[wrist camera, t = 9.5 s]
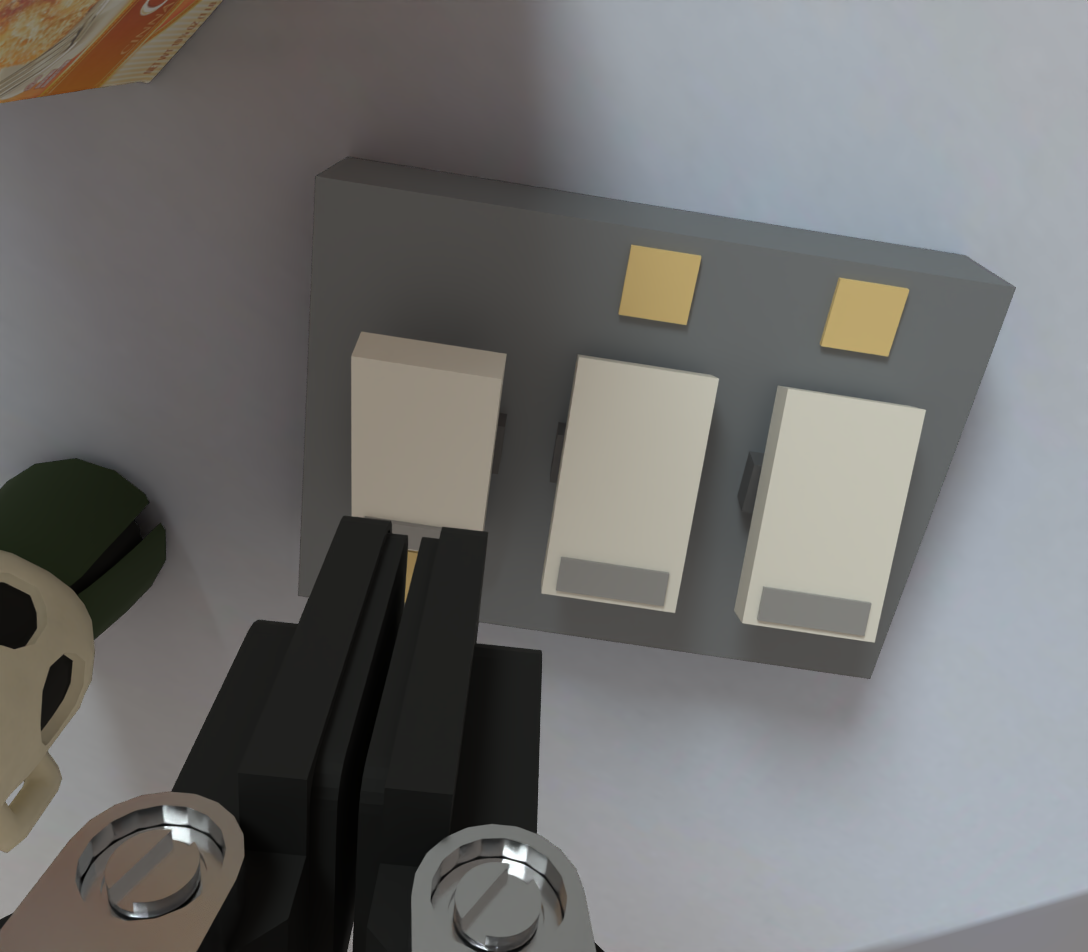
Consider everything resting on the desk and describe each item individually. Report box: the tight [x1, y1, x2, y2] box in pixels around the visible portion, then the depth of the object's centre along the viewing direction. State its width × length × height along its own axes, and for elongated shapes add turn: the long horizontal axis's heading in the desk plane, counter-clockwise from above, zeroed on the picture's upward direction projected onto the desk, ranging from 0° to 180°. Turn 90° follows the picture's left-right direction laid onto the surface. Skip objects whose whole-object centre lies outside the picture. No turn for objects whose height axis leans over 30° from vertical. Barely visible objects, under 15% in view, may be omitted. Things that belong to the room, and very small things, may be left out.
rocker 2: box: [541, 354, 719, 613], centre depth 28 cm, size 7×4×1 cm, turn 172°
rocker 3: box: [734, 386, 926, 643], centre depth 28 cm, size 7×4×1 cm, turn 172°
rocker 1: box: [351, 332, 507, 551], centre depth 28 cm, size 7×4×1 cm, turn 171°
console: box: [298, 157, 1016, 679], centre depth 31 cm, size 14×20×5 cm
